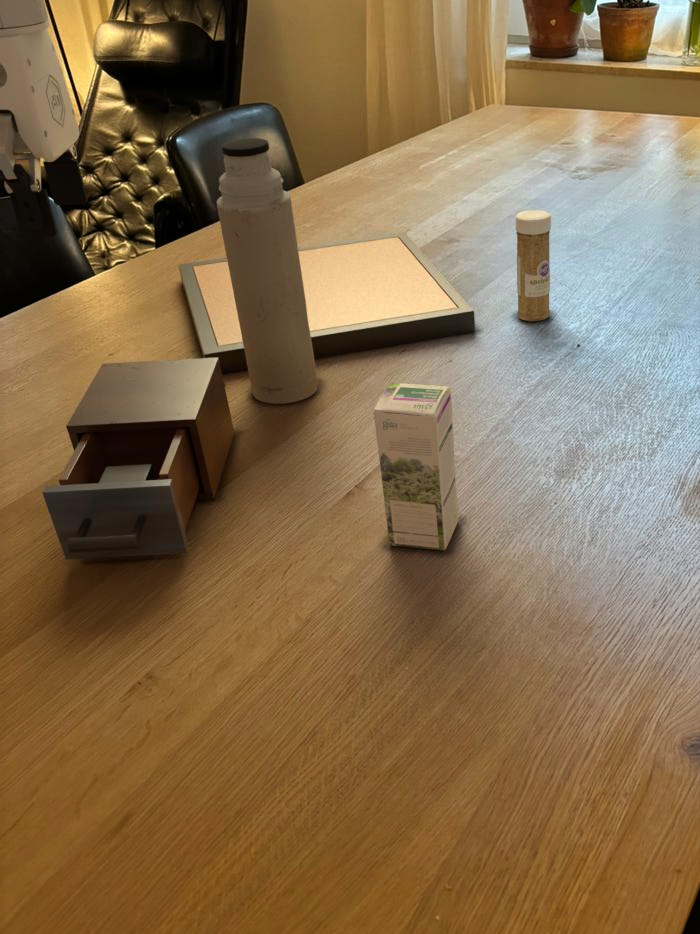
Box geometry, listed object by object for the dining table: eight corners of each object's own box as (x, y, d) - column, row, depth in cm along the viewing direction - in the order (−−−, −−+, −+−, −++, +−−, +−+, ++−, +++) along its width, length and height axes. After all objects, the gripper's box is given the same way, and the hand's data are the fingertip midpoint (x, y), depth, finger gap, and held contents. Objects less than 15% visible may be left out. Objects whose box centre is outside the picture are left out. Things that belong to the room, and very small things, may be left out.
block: (107, 529, 98) (94, 489, 95) (118, 505, 102) (106, 466, 99) (153, 527, 98) (142, 487, 95) (162, 503, 102) (152, 463, 99)
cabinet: (214, 499, 106) (195, 419, 100) (91, 506, 106) (65, 426, 100) (234, 432, 117) (218, 357, 111) (123, 439, 117) (102, 363, 111)
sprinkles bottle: (539, 324, 138) (539, 221, 130) (510, 318, 140) (508, 216, 132) (556, 313, 141) (557, 211, 132) (527, 307, 143) (527, 207, 134)
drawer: (177, 582, 93) (158, 513, 88) (51, 589, 93) (26, 520, 88) (210, 480, 107) (195, 416, 102) (100, 486, 107) (81, 422, 102)
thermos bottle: (239, 397, 124) (189, 148, 106) (277, 371, 130) (236, 130, 112) (294, 408, 121) (252, 154, 104) (330, 381, 127) (296, 135, 109)
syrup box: (460, 520, 101) (452, 382, 92) (445, 553, 96) (435, 412, 87) (404, 515, 102) (391, 378, 93) (387, 548, 97) (371, 407, 88)
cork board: (406, 250, 163) (182, 283, 156) (405, 232, 162) (178, 264, 154) (475, 331, 137) (208, 376, 129) (474, 310, 135) (203, 354, 127)
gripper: (8, 25, 80) (69, 248, 91) (73, -6, 94) (119, 192, 104) (-88, 28, 80) (-16, 251, 91) (-10, -3, 94) (45, 194, 104)
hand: (56, 219), depth 98 cm, fingers open, 9 cm apart
